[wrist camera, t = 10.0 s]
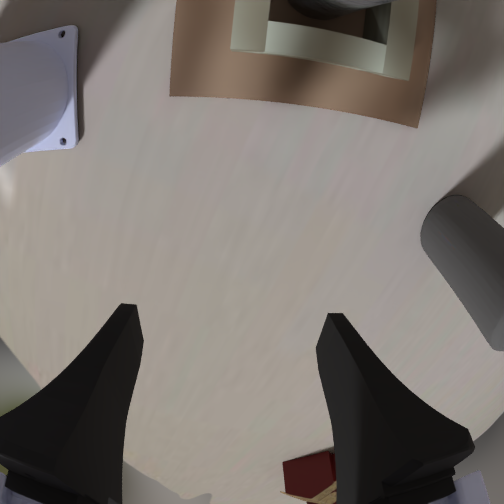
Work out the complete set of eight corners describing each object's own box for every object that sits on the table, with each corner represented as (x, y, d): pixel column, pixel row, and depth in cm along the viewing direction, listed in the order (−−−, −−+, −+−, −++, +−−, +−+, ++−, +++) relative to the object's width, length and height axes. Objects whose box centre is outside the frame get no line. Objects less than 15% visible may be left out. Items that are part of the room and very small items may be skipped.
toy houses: (267, 463, 48) (271, 513, 40) (381, 431, 44) (395, 483, 35) (329, 495, 71) (334, 523, 63) (397, 474, 67) (404, 503, 58)
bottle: (460, 179, 20) (600, 314, 7) (483, 226, 22) (590, 352, 10) (407, 229, 22) (518, 395, 10) (436, 269, 24) (524, 413, 12)
